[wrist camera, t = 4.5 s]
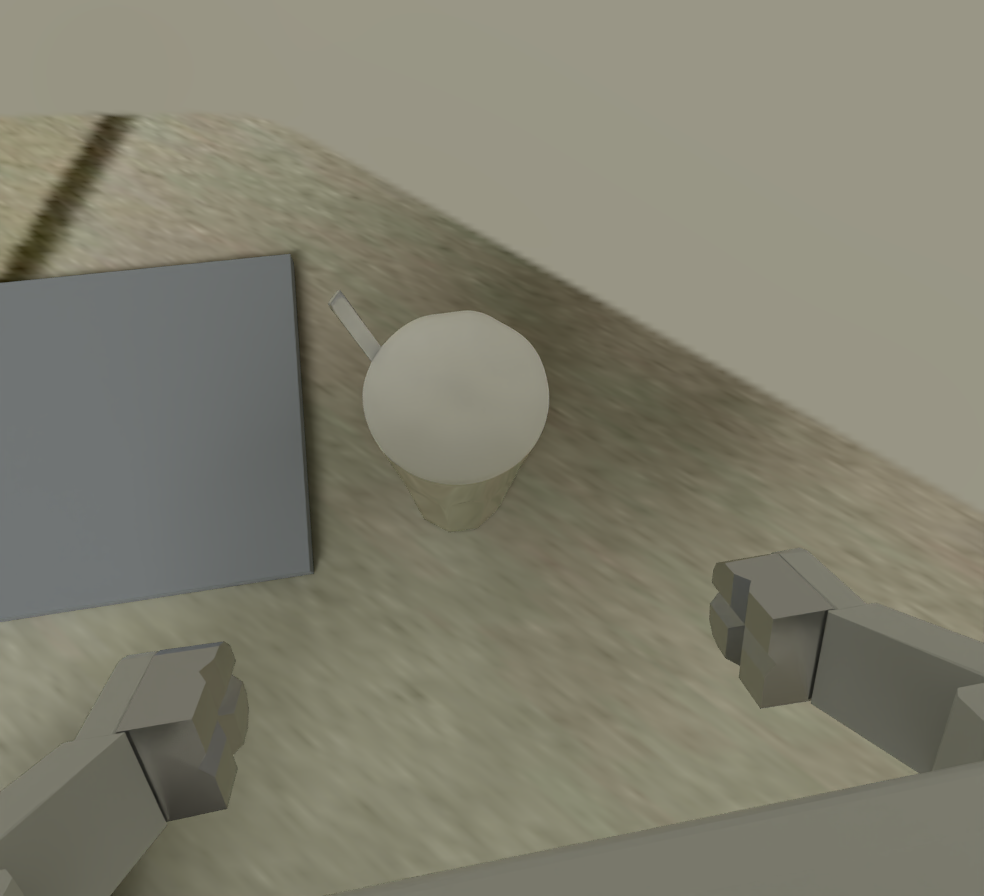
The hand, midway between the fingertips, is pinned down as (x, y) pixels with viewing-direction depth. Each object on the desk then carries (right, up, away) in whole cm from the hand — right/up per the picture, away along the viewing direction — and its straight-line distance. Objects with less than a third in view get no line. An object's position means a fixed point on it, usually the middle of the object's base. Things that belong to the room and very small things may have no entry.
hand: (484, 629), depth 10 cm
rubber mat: (-15, +4, +12) cm, 20 cm away
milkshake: (-1, +2, +12) cm, 13 cm away
